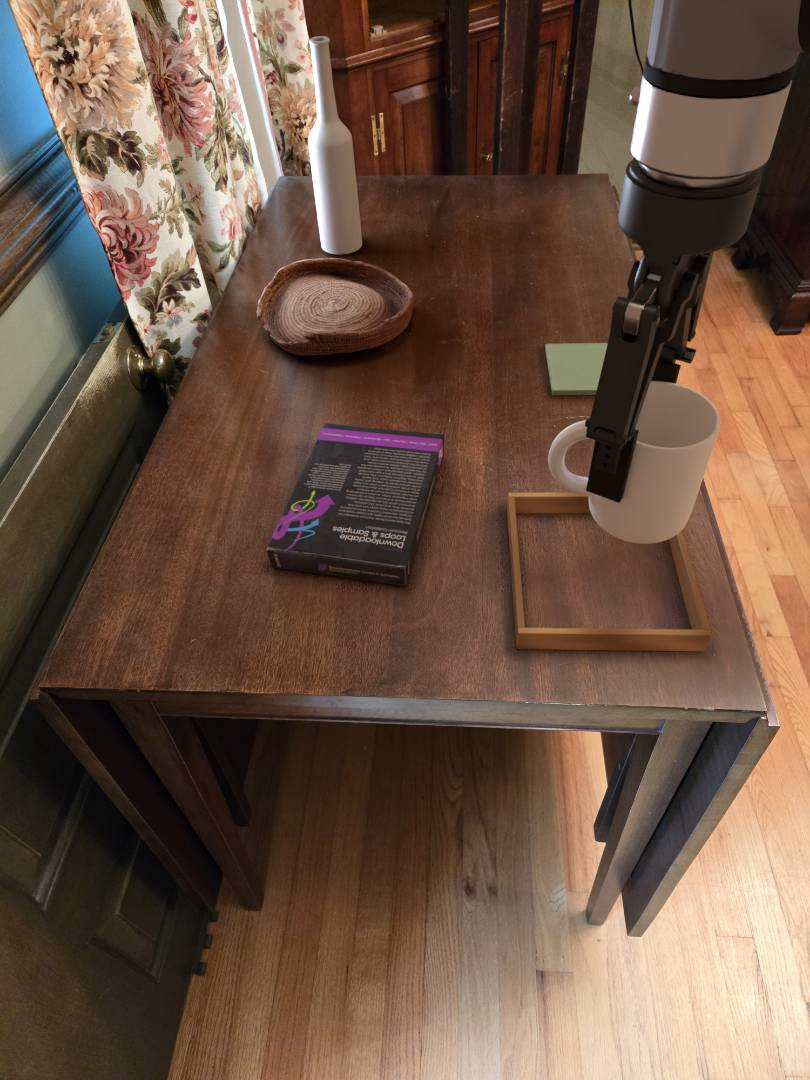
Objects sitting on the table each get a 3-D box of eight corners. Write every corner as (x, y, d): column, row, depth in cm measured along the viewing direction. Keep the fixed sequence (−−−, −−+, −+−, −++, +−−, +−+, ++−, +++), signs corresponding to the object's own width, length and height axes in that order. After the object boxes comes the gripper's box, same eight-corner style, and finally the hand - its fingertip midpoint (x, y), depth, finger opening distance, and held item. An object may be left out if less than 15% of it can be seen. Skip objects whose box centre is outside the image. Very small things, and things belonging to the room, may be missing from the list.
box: (328, 444, 84) (269, 569, 71) (323, 420, 82) (261, 545, 69) (446, 457, 81) (406, 590, 69) (445, 432, 79) (404, 565, 66)
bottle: (352, 231, 119) (331, 29, 99) (369, 247, 115) (352, 40, 94) (315, 241, 117) (286, 37, 97) (331, 258, 113) (305, 49, 93)
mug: (538, 535, 60) (549, 438, 52) (547, 469, 65) (558, 372, 58) (690, 554, 58) (725, 455, 50) (686, 483, 63) (717, 385, 56)
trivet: (636, 394, 87) (637, 389, 87) (552, 395, 88) (552, 390, 87) (623, 347, 94) (624, 342, 93) (545, 348, 94) (545, 343, 94)
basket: (230, 324, 102) (222, 291, 98) (336, 269, 111) (332, 237, 107) (339, 387, 91) (334, 353, 87) (445, 320, 100) (445, 287, 96)
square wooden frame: (665, 509, 74) (671, 492, 72) (704, 651, 63) (712, 635, 61) (506, 509, 75) (508, 492, 73) (516, 649, 64) (518, 633, 62)
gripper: (689, 96, 49) (629, 378, 66) (556, 222, 37) (525, 525, 54) (807, 111, 46) (712, 403, 63) (703, 253, 34) (621, 564, 51)
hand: (625, 459), depth 58 cm, fingers closed on mug, 8 cm apart
